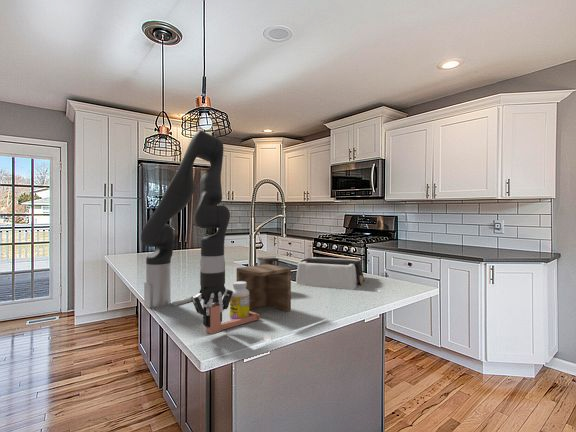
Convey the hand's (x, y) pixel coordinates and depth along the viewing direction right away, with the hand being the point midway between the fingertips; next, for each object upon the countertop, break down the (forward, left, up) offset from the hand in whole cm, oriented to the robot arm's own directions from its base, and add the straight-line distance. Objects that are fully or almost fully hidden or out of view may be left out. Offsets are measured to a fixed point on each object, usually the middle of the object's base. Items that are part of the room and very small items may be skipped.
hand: (212, 325), depth 101 cm
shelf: (+25, +7, -2) cm, 26 cm away
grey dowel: (+12, +38, -2) cm, 40 cm away
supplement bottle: (+13, +4, -2) cm, 14 cm away
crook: (0, 0, -2) cm, 2 cm away
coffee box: (+46, +29, -2) cm, 54 cm away
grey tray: (+83, +22, -3) cm, 86 cm away
